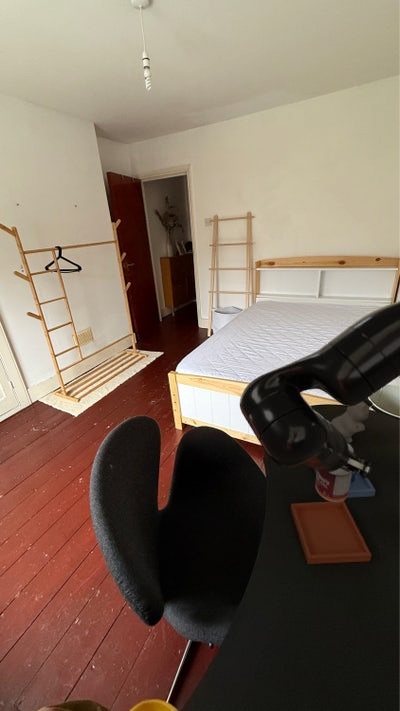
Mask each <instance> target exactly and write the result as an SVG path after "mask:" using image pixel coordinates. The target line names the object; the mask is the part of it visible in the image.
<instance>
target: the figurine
mask: <svg viewBox="0 0 400 711" xmlns="http://www.w3.org/2000/svg"><path fill="white" fill-rule="evenodd" d="M373 405H374V403H373V402H372V401H371V400H370V399H369V398H367V399H365V400H364V401H362V402H361V403H359V404H357V405H355V406H347V409H346V411H345V412H344V413H342V414H341V415H338V416H335V417H334V418H333V419H332V420H331V421H330V423H331V424H333V425H334V426H335V428H337V430H338V431H339V432H340V433H341V434H342V435H343V436H344V437H345V439H346V441H347V443H348V444H351V443H353V438H352V436H354V434H356V433H360V432H363V431H365V430H366V426H365V425H364V423H363V421H365V420H367V419H368V418H369V415H370V414H369V413H370V410H371V407H372V406H373Z"/></svg>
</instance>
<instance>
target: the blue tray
mask: <svg viewBox="0 0 400 711" xmlns="http://www.w3.org/2000/svg"><path fill="white" fill-rule="evenodd" d="M313 470H314V472H315V474H316V475H317V470H315V469H313ZM375 495H376V489H375V487H374V486H373V484H372V482H371V481H370V480H369V478H368V479H367V478H363V477H362V476H361V475H360V474H358V473H357V474H356V476H355V481H354V482H352V483H350V487H349V492H348V496H347V498H346V499H348V498H349V499H350V498H367V497H375Z"/></svg>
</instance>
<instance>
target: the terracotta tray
mask: <svg viewBox="0 0 400 711" xmlns="http://www.w3.org/2000/svg"><path fill="white" fill-rule="evenodd" d="M290 511H291V514H292V517H293V522H294V525H295V527H296V531H297V534H298V538H299V540H300V543H301V547H302V550H303V552H304V556H305V560H306V563H307V565H319V564H336V563H337V564H338V563H339V564H340V563H357V562H358V563H359V562H370V561H371V557H372V552H370V550H369V547H368V546H367V543H366V541H365V539H364V537H363V536H362V534H361V531H360V529H359V528H358V526H357V524H356V522H355V519H354V518H353V516H352V514H351V512H350V510H349V508H348V505H347V504H346V502H345V500H343V501H341V502H331V501H318V502H317V501H316V502H297V503H291V504H290Z"/></svg>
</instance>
